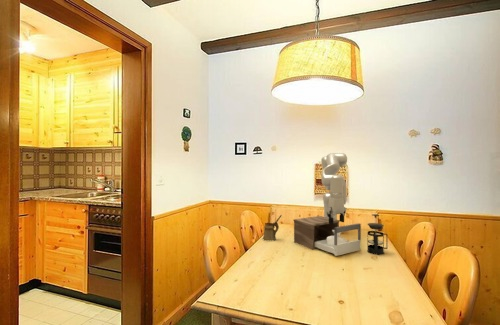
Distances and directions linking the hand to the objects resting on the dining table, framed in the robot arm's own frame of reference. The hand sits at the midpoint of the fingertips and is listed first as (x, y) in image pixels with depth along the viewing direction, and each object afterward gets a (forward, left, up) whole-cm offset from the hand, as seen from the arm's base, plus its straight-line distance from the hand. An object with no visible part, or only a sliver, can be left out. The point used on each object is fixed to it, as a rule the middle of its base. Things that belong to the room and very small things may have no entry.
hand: (336, 222), depth 166 cm
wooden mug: (+21, -39, -17) cm, 48 cm away
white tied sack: (0, 0, -15) cm, 15 cm away
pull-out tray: (0, +1, -16) cm, 16 cm away
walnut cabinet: (0, -17, -17) cm, 24 cm away
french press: (-17, +16, -17) cm, 29 cm away
